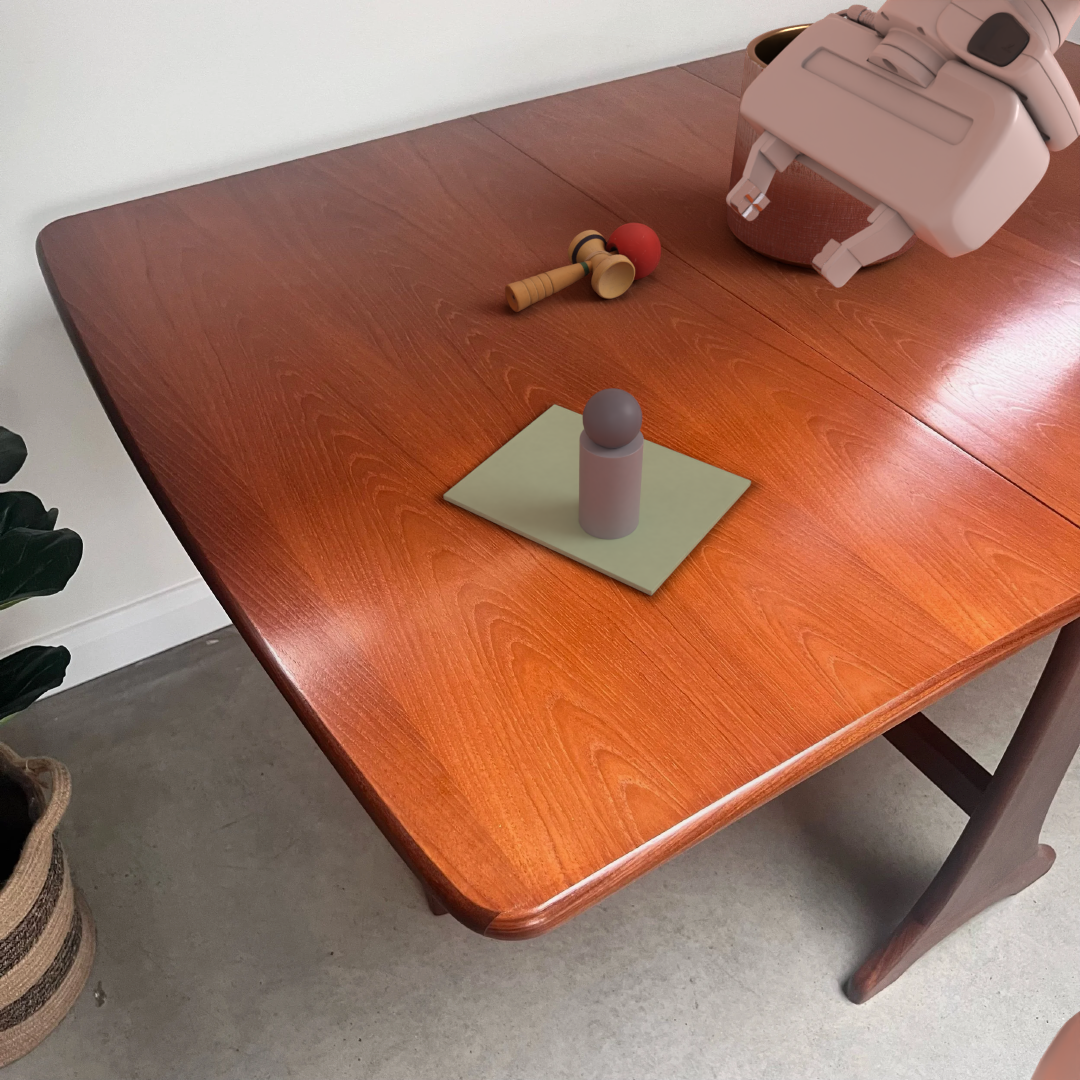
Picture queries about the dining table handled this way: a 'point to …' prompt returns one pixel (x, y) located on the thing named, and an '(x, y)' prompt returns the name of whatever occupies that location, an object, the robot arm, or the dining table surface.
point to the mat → (553, 501)
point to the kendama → (595, 265)
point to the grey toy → (610, 464)
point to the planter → (792, 186)
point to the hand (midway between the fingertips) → (777, 242)
